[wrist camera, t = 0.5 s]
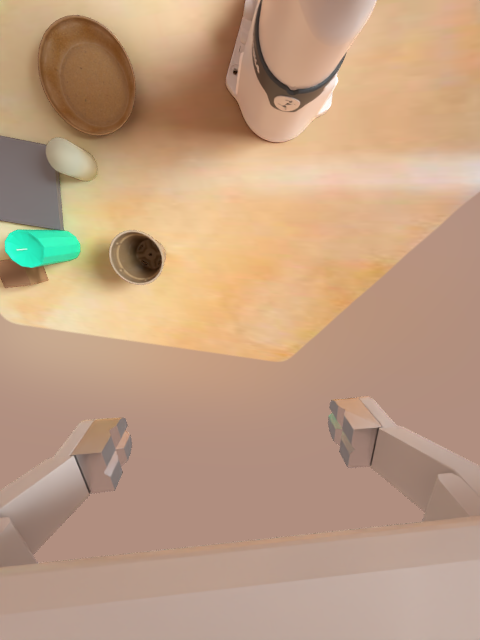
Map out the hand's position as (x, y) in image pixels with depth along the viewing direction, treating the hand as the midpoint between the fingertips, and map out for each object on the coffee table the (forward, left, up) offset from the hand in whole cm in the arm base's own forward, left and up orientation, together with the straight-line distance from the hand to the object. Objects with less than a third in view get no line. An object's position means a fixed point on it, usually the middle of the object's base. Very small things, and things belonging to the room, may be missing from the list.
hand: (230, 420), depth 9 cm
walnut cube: (+7, -40, -45) cm, 61 cm away
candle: (+1, -33, -45) cm, 56 cm away
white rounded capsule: (-14, -29, -45) cm, 55 cm away
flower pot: (0, -16, -45) cm, 48 cm away
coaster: (-9, -40, -45) cm, 61 cm away
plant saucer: (-26, -26, -46) cm, 59 cm away
